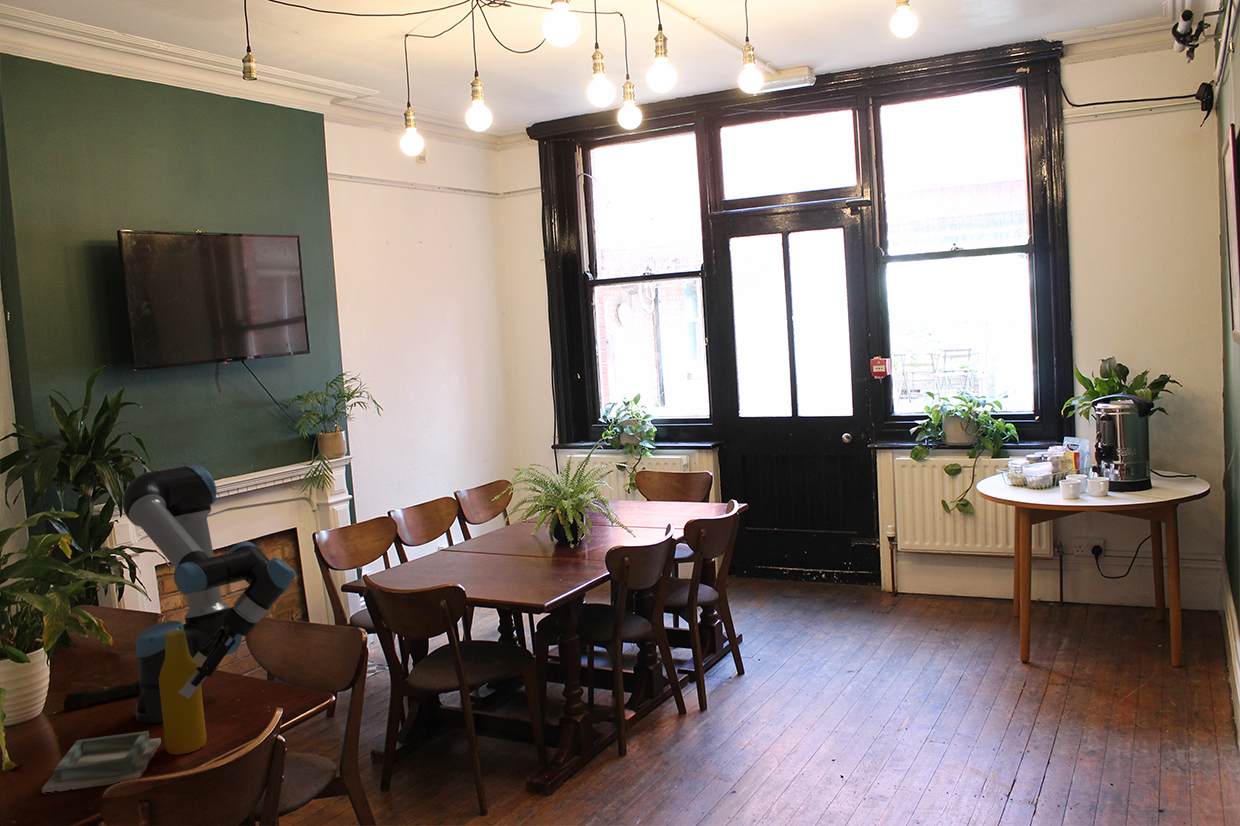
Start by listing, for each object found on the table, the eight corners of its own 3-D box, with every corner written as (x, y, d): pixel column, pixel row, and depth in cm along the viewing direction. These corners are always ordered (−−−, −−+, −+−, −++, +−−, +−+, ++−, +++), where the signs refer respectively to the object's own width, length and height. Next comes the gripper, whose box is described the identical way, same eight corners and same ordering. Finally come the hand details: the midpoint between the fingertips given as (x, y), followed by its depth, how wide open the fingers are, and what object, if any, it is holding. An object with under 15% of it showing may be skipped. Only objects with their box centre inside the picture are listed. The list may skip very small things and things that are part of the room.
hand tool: (141, 691, 271) (139, 676, 270) (141, 696, 267) (140, 680, 267) (64, 708, 262) (62, 691, 261) (64, 713, 258) (62, 696, 258)
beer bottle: (162, 746, 233) (150, 632, 230) (201, 735, 239) (190, 623, 236) (170, 759, 226) (158, 642, 223) (211, 747, 232) (200, 632, 229)
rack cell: (72, 754, 231) (71, 737, 231) (161, 742, 236) (159, 726, 235) (42, 793, 212) (40, 775, 212) (139, 779, 216) (137, 762, 216)
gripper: (259, 638, 224) (196, 712, 220) (254, 609, 247) (197, 676, 243) (232, 620, 222) (169, 695, 218) (230, 593, 245) (173, 660, 240)
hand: (184, 685), depth 230 cm, fingers open, 13 cm apart
